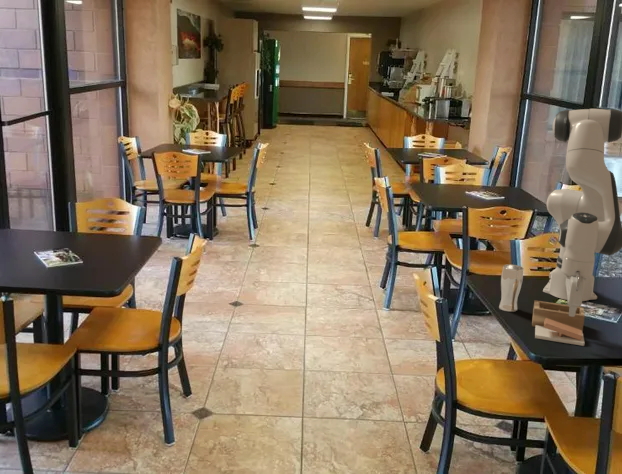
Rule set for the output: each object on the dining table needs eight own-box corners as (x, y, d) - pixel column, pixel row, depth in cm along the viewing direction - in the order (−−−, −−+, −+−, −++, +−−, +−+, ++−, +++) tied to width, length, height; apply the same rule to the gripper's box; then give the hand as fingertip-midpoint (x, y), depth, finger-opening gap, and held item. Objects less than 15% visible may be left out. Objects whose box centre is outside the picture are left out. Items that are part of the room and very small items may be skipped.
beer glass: (500, 303, 229) (505, 263, 226) (520, 308, 226) (526, 266, 222) (495, 309, 223) (500, 267, 220) (515, 313, 220) (521, 271, 217)
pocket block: (532, 317, 218) (534, 300, 216) (580, 324, 213) (582, 307, 212) (531, 326, 209) (534, 308, 208) (581, 334, 205) (584, 316, 203)
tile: (542, 325, 205) (545, 317, 204) (578, 338, 202) (581, 330, 201) (542, 330, 200) (545, 323, 199) (579, 343, 198) (582, 336, 197)
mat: (535, 328, 208) (535, 325, 208) (582, 335, 204) (582, 332, 204) (535, 338, 200) (535, 335, 200) (584, 345, 196) (584, 342, 195)
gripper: (591, 278, 185) (584, 323, 189) (586, 260, 204) (579, 301, 208) (567, 275, 187) (560, 320, 191) (564, 257, 206) (558, 299, 209)
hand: (570, 310), depth 199 cm, fingers open, 8 cm apart
